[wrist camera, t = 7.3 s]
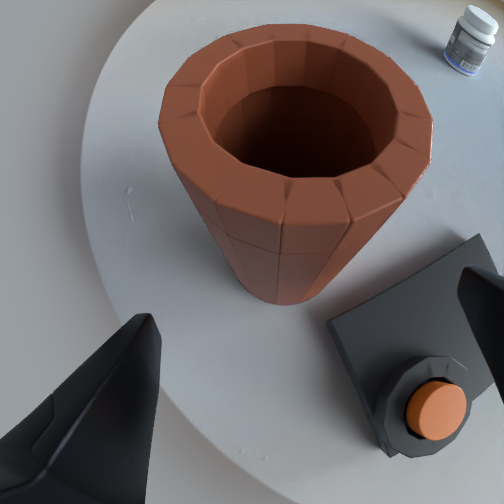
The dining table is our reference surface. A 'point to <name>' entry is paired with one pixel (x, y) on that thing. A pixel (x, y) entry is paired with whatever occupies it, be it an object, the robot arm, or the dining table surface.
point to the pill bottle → (471, 41)
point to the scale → (413, 347)
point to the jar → (294, 150)
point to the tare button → (436, 410)
